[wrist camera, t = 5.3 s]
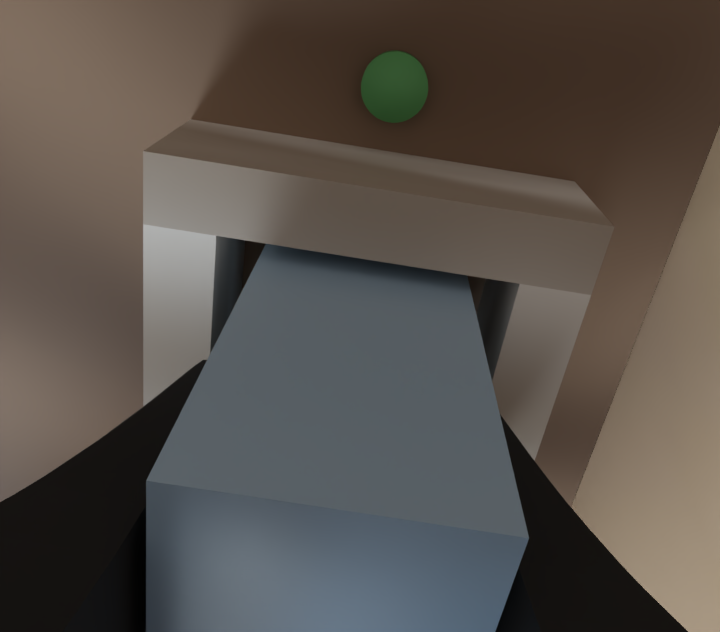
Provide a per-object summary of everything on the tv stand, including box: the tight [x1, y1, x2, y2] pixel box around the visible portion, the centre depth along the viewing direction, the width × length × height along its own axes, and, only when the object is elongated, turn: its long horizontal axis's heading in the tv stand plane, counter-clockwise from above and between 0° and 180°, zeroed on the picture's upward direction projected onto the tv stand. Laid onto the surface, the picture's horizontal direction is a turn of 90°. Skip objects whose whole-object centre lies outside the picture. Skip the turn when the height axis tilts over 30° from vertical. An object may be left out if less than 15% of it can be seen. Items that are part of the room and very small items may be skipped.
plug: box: [146, 244, 529, 632], centre depth 9 cm, size 4×3×6 cm
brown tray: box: [0, 0, 720, 507], centre depth 11 cm, size 13×22×3 cm, turn 82°
